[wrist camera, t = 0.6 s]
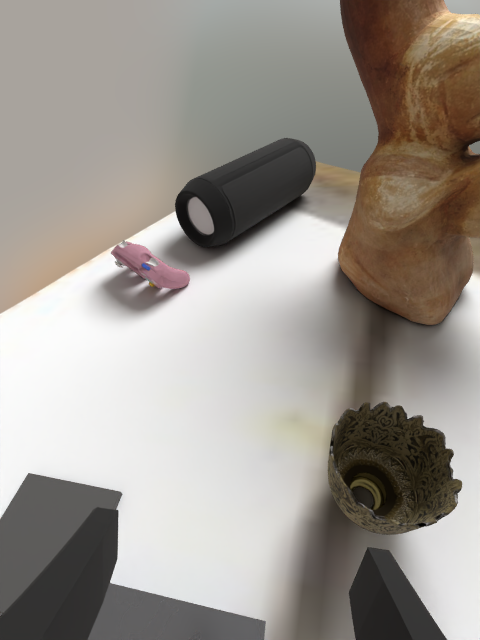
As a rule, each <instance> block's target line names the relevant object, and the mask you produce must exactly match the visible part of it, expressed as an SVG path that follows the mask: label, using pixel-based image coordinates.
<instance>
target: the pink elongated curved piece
mask: <svg viewBox="0 0 480 640" xmlns="http://www.w3.org/2000/svg"><path fill="white" fill-rule="evenodd" d="M111 254H112V255H113V256H114V257H115V258H116V260H117V262H118V263H117V262H116V261H115V263H116V265H117V266H118V267H121V268H123V267H122V266H121V265H123V266H127V267H129V268H130V269H131V270H133V271H134V272H135V273H137V274H138V275H139V276H141V277H142V278H144V279H145V278H146V279H147V280H148V281H149V285H150V286H152V287H154V286H156V287H157V288H159V289H160V288H162V287H164V288H170V289H178V288H182V287H185V286H186V285H187V284H188V283H189V281H190V276H189V274H188V273H187V272H186V271H183V270H179V269H175V268H171V267H169V266H168V265H166V264H165V263H163V262H162V261H161V260H160V259H158V258H157V257H155V256H154V255H152V254H151V252H150V251H149V250H148V249H147V248H146V247H144V246H141V245H137V244H132V243H130V242H125V241H124V240H123V242H122V243H121V244H119V245H117V246H116V247H115V248H114V249H113V251H112V252H111Z"/></svg>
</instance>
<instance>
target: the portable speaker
mask: <svg viewBox="0 0 480 640" xmlns="http://www.w3.org/2000/svg"><path fill="white" fill-rule="evenodd" d="M315 171H316V162H315V157H314V155H313V152H312V151H311V149H310V148H309V147H308V145H306V144H305V143H304V142H302V141H299V140H295V139H290V138H284V139H280V140H278V141H276V142H273V143H271V144H269V145H267V146H265V147H263V148H260V149H258V150H256V151H254V152H252V153H249V154H247V155H245V156H243V157H240V158H238V159H236V160H234V161H232V162H229V163H227V164H225V165H223V166H221V167H218V168H216V169H214V170H212V171H210V172H208V173H205V174H203V175H201V176H199V177H196V178H194V179H192V180H190V181H189V182H188V183H187V184H186V186H185V187H184V188H183V189H182V191H181V192H180V193H179V194H178V196H177V199H176V203H175V207H176V215H177V218H178V221H179V223H180V225H181V227H182V229H183V231H184V232H185V234H186V235H187V236H188V237H189V238H190V239H191V240H192V241H193V242H194V243H196V244H198V245H200V246H204V247H208V246H217V245H223V244H225V243H226V242H228V241H230V240H231V239H233V238H235V237H236V236H238V235H239V234H241V233H242V232H244V231H246V230H247V229H249V228H250V227H252V226H253V225H255V224H256V223H258V222H260V221H261V220H263V219H264V218H266V217H267V216H269V215H271V214H272V213H274V212H275V211H277V210H278V209H280V208H281V207H283V206H285V205H286V204H288V203H289V202H291V201H292V200H294V199H296V198H297V197H299V196H300V195H302V194H303V193H304V192H305V191H306V190H307V189H308V188H309V186H310V184H311V182H312V180H313V178H314V175H315Z"/></svg>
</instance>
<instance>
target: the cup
mask: <svg viewBox="0 0 480 640" xmlns="http://www.w3.org/2000/svg"><path fill="white" fill-rule="evenodd" d="M371 409H372V408H371ZM423 422H424V421H423V416H421V415H417V416H413V417H412V418H409V419H407V414H406V413H405V411H404V409H403V408H402V406H395V407H390V405H389V404H388V403H387V402H382V403H379V404H378V405H376V406H375V407H374V408H373V409H372V410H370V403H369V402H366V403H364V404H363V405H362V406H361V407H360V409H359V410H354V409H353V408H350V409H347V410H346V411H345V412H344V413H343V415H342V416H341V418H340V420H339V421H338V423H336V424H335V425H334V427H333V430H332V438H331V444H330V452H329V460H328V479H329V485H330V488H331V492H332V494H333V497H334V499H335V501H336V503H337V504H338V506H339V507H340V509H341V510H342V511H343V513H344V514H345V515H346V516H347V517H348V518H349V519H350V520H352V521H353V522H354V523H355V524H357V525H358V526H360V527H362V528H364V529H366V530H368V531H371V532H374V533H379V534H386V535H392V534H401V533H406V532H409V531H412V530H415V529H418V528H421V527H424V526H429V525H432V524H434V523H437V521H438V520H440V519H441V518H443V517H445V516H447V515H448V514H449V513H451V512H452V511H453V510H454V509H455V507H456V506H457V504H458V500H457V499H458V494H457V493H459V492H460V491H461V488H462V481H461V480H458V479H453V477H452V475H453V469H452V468H451V467H450V462H451V459H452V457H453V455H454V453H453V450H452V449H447V448H446V447H445V435H444V433H442V432H441V431H440V430H438V429H434V428H426V427H425V426H423ZM356 487H365V488H367V489H368V490H369V491H370V492H371V493H372V495H373V498H374V504H373V506H372V507H371V508H370V509H369V508H367V507H366V506H365V505H363V504H362V503H359V502H358V501H357V499H356V498H355V496H354V494H353V493H352V492H353V490H354V489H355V488H356Z"/></svg>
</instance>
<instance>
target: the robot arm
mask: <svg viewBox="0 0 480 640" xmlns="http://www.w3.org/2000/svg"><path fill="white" fill-rule="evenodd" d="M117 552H118V510H113V509H106V508H100V507H97V508H95V509H93V510H92V512H91V513H90V514H89V516H88V517H87V518H86V520H85V521H84V522H83V523H82V525H81V526H80V527H79V528H78V530H77V531H76V532H75V533H74V535H73V536H72V537H71V538H70V539H69V541H68V542H67V543H66V544H65V545H64V547H63V548H62V549H61V550H60V551H59V552H58V554H57V555H56V556H55V557H54V558H53V559H52V561H51V562H50V563H49V564H48V565H47V566H46V567H45V568H44V570H43V571H42V572H41V573H40V574H39V575H38V576H37V577H36V579H35V580H34V581H33V582H32V583H31V584H30V585H29V586H28V588H27V589H26V590H25V591H24V592H23V593H22V594H21V595H20V596H19V597H18V598H17V599H16V600H15V601H14V603H13V604H12V605H11V606H10V607H9V608H8V609H7V610H6V611H5V612H4V613H3V614H2V615H1V616H0V640H88V637H89V635H90V632H91V630H92V628H93V625H94V623H95V620H96V618H97V616H98V613H99V611H100V608H101V606H102V604H103V601H104V598H105V595H106V592H107V589H108V586H109V583H110V580H111V577H112V574H113V571H114V567H115V564H116V561H117ZM349 597H350V604H351V611H352V619H353V625H354V632H355V638H356V640H447V639H446V637H445V636H444V634H443V633H442V631H441V630H440V629H439V627H438V625H437V624H436V622H435V621H434V619H433V618H432V616H431V615H430V613H429V612H428V610H427V609H426V607H425V606H424V604H423V603H422V601H421V600H420V598H419V596H418V595H417V593H416V592H415V590H414V589H413V587H412V586H411V584H410V582H409V581H408V579H407V578H406V576H405V575H404V573H403V571H402V570H401V568H400V567H399V565H398V564H397V562H396V560H395V559H394V557H393V556H392V554H391V553H390V551H389V550H382V549H376V548H369V547H368V548H367V550H366V553H365V555H364V558H363V560H362V562H361V565H360V567H359V570H358V572H357V574H356V577H355V579H354V582H353V584H352V586H351V589H350V591H349Z"/></svg>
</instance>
